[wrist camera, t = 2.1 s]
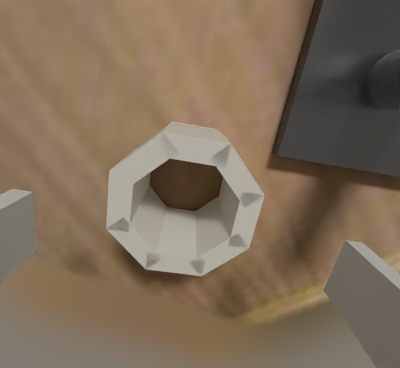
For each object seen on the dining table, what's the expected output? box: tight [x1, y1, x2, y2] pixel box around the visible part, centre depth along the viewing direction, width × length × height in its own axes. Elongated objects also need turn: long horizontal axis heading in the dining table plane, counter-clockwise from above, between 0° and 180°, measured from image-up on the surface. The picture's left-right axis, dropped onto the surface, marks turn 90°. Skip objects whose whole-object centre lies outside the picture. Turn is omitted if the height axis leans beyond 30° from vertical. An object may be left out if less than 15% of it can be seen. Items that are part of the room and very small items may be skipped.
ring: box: [106, 121, 265, 276], centre depth 15 cm, size 8×8×6 cm
